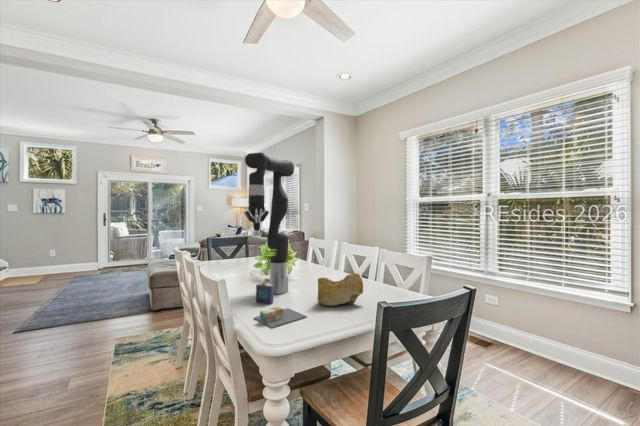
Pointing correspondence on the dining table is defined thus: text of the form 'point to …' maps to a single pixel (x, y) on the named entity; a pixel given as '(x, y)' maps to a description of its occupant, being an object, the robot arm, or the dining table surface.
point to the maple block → (271, 314)
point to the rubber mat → (284, 318)
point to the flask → (264, 293)
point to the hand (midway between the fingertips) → (256, 230)
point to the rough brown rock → (339, 290)
